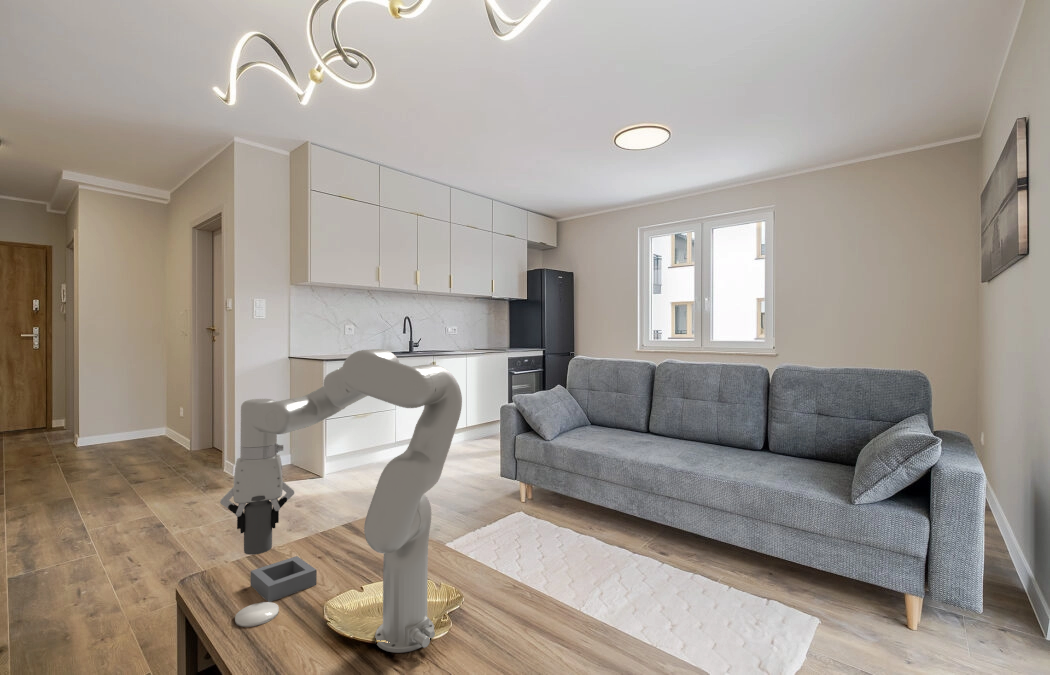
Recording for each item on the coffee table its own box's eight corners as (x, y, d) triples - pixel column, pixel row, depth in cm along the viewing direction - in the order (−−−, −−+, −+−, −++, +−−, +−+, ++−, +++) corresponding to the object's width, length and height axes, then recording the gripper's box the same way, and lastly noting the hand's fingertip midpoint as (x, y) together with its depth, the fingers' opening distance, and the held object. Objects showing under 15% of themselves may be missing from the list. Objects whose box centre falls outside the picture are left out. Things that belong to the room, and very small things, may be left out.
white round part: (285, 615, 116) (285, 611, 116) (243, 631, 109) (243, 628, 109) (269, 601, 122) (269, 597, 122) (229, 616, 115) (229, 612, 115)
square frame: (316, 584, 130) (316, 569, 130) (268, 602, 121) (268, 586, 121) (296, 570, 138) (296, 556, 138) (250, 586, 129) (250, 570, 129)
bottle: (263, 555, 112) (264, 489, 112) (238, 554, 113) (238, 489, 113) (276, 544, 118) (277, 482, 118) (252, 544, 118) (253, 482, 118)
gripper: (298, 445, 123) (297, 517, 123) (217, 452, 115) (216, 529, 115) (300, 451, 116) (299, 527, 116) (214, 459, 108) (213, 541, 108)
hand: (258, 528), depth 115 cm, fingers closed on bottle, 5 cm apart
